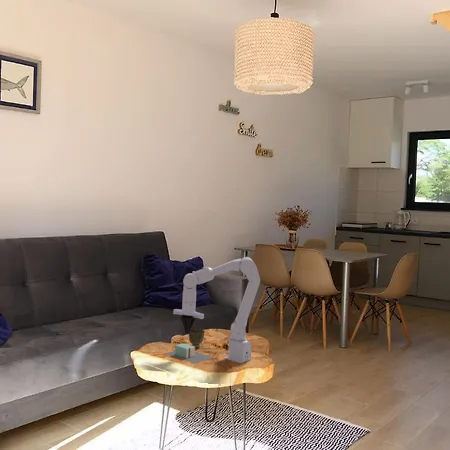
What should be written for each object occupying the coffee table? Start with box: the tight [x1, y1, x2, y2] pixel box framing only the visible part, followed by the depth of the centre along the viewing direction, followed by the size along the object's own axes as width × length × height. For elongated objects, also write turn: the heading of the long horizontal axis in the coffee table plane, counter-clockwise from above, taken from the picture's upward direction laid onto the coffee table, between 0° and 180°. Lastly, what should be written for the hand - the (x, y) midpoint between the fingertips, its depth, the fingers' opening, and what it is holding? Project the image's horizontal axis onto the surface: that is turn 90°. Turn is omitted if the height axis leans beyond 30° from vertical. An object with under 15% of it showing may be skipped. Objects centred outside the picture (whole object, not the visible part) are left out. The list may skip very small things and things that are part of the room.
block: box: [174, 343, 196, 358], centre depth 235 cm, size 4×5×7 cm
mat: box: [164, 350, 214, 364], centre depth 235 cm, size 18×12×1 cm, turn 50°
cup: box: [188, 328, 205, 348], centre depth 250 cm, size 8×7×8 cm
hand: (187, 332), depth 234 cm, fingers closed
